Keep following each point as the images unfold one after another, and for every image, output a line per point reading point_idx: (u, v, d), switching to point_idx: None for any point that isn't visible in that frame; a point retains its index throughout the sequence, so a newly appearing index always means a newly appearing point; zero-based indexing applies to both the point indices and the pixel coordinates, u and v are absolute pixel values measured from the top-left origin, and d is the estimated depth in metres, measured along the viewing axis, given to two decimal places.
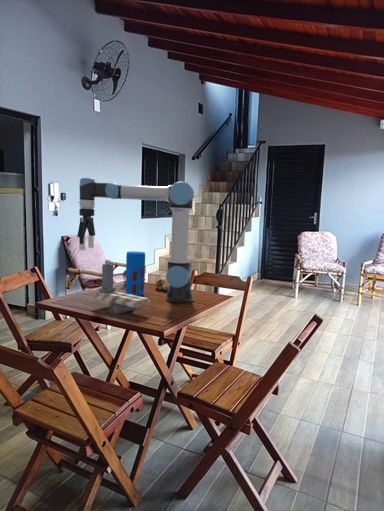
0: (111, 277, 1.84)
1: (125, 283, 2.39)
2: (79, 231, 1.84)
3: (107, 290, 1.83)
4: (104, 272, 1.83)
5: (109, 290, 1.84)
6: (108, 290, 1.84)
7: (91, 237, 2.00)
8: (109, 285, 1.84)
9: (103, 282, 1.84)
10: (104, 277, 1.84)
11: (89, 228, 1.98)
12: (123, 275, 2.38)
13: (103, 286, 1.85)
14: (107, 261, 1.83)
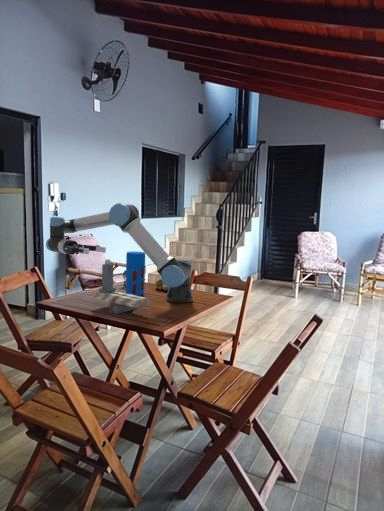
0: (111, 277, 1.84)
1: (125, 283, 2.39)
2: (71, 251, 1.86)
3: (107, 290, 1.83)
4: (104, 272, 1.83)
5: (109, 290, 1.84)
6: (108, 290, 1.84)
7: (97, 248, 1.95)
8: (109, 285, 1.84)
9: (103, 282, 1.84)
10: (104, 277, 1.84)
11: (87, 248, 1.97)
12: (123, 275, 2.38)
13: (103, 286, 1.85)
14: (107, 261, 1.83)
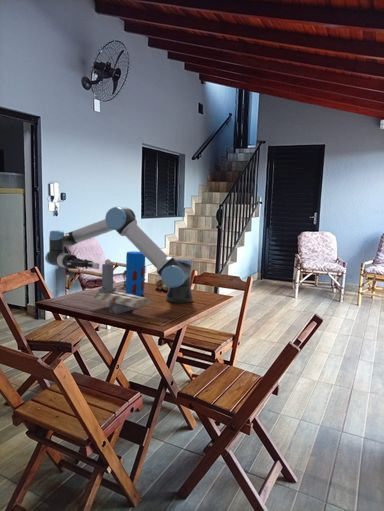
0: (111, 277, 1.84)
1: (125, 283, 2.39)
2: (79, 265, 1.90)
3: (107, 290, 1.83)
4: (104, 272, 1.83)
5: (109, 290, 1.84)
6: (108, 290, 1.84)
7: None
8: (109, 285, 1.84)
9: (103, 282, 1.84)
10: (104, 277, 1.84)
11: None
12: (123, 275, 2.38)
13: (103, 286, 1.85)
14: (107, 261, 1.83)
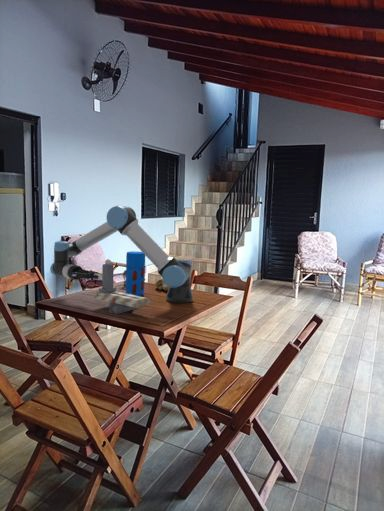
0: (111, 277, 1.84)
1: (125, 283, 2.39)
2: (85, 277, 1.87)
3: (107, 290, 1.83)
4: (104, 272, 1.83)
5: (109, 290, 1.84)
6: (108, 290, 1.84)
7: None
8: (109, 285, 1.84)
9: (103, 282, 1.84)
10: (104, 277, 1.84)
11: None
12: (123, 275, 2.38)
13: (103, 286, 1.84)
14: (107, 261, 1.83)
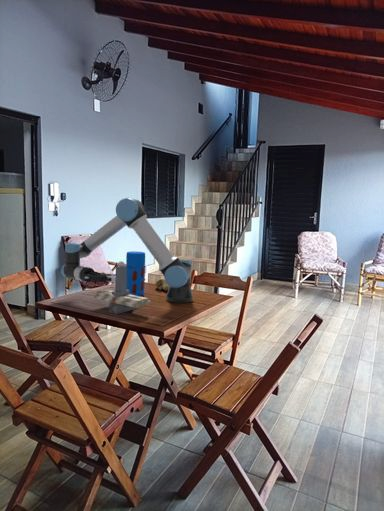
0: (125, 280, 1.79)
1: None
2: (97, 279, 1.83)
3: (121, 293, 1.78)
4: (118, 274, 1.78)
5: (123, 293, 1.79)
6: (122, 293, 1.79)
7: None
8: (123, 288, 1.79)
9: (116, 285, 1.79)
10: (118, 280, 1.79)
11: None
12: None
13: (116, 289, 1.80)
14: (121, 263, 1.78)
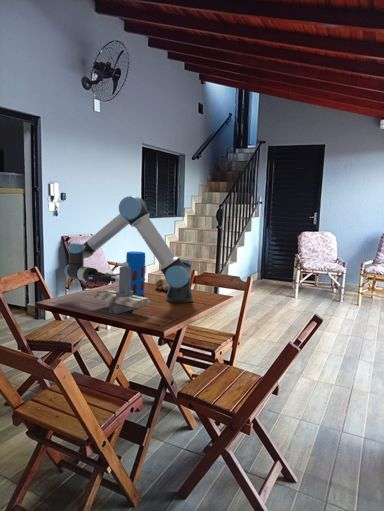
0: (129, 280, 1.78)
1: None
2: (101, 280, 1.82)
3: (125, 294, 1.77)
4: (121, 275, 1.77)
5: (127, 293, 1.78)
6: (126, 294, 1.77)
7: None
8: (127, 289, 1.78)
9: (120, 285, 1.78)
10: (121, 280, 1.77)
11: None
12: None
13: (120, 290, 1.78)
14: (125, 264, 1.76)
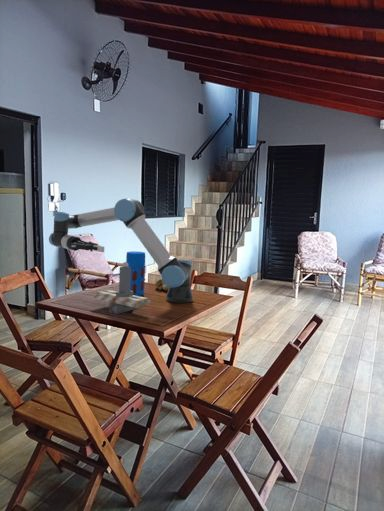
0: (129, 280, 1.78)
1: None
2: (84, 248, 1.88)
3: (125, 294, 1.77)
4: (121, 275, 1.77)
5: (127, 293, 1.78)
6: (126, 294, 1.77)
7: None
8: (127, 289, 1.78)
9: (120, 285, 1.78)
10: (121, 280, 1.77)
11: None
12: None
13: (120, 290, 1.78)
14: (125, 264, 1.76)
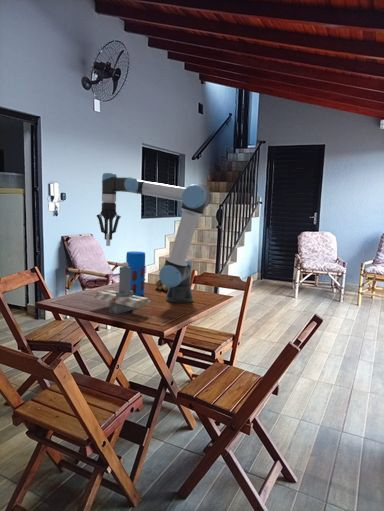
0: (129, 280, 1.78)
1: None
2: None
3: (125, 294, 1.77)
4: (121, 275, 1.77)
5: (127, 293, 1.78)
6: (126, 294, 1.77)
7: None
8: (127, 289, 1.78)
9: (120, 285, 1.78)
10: (121, 280, 1.77)
11: None
12: None
13: (120, 290, 1.78)
14: (125, 264, 1.76)
